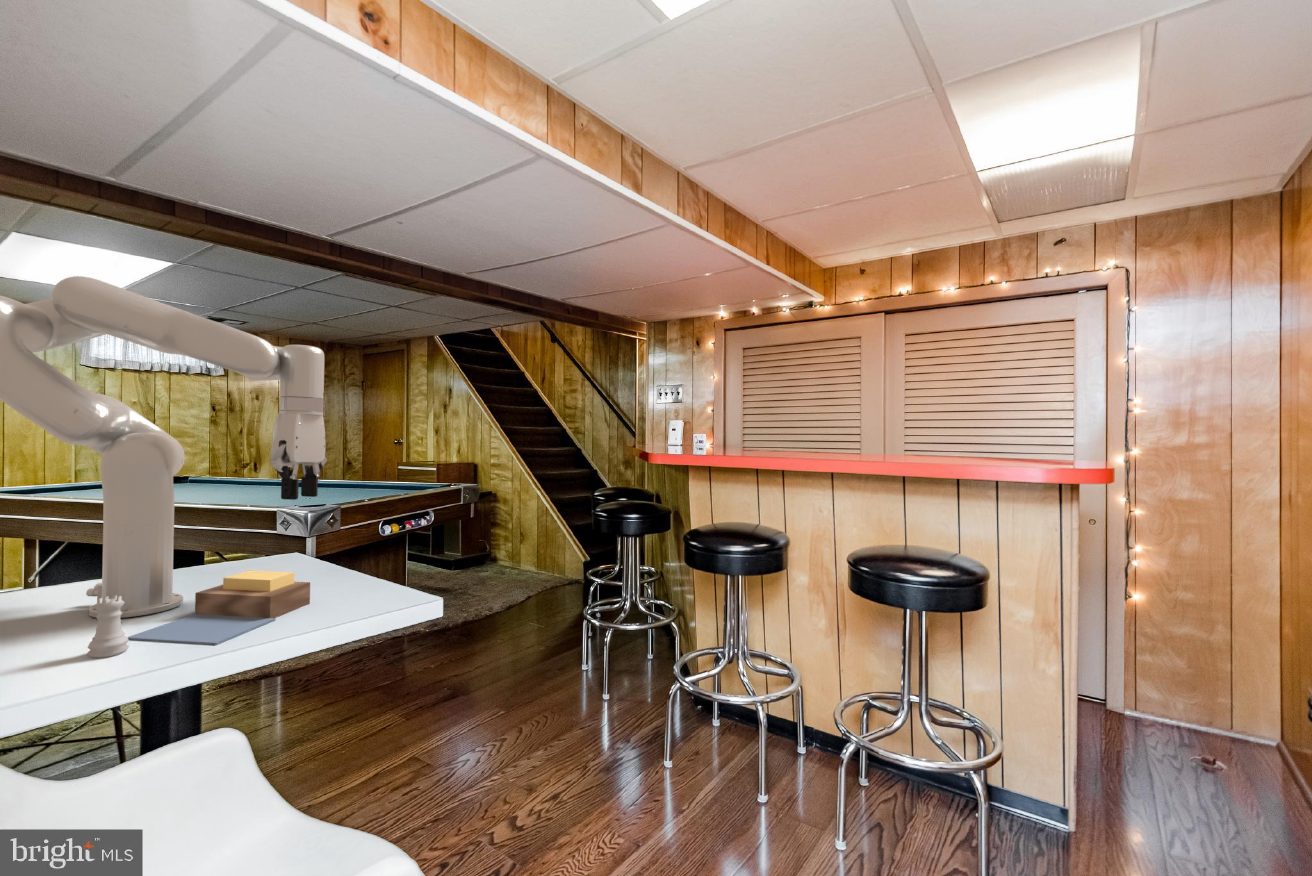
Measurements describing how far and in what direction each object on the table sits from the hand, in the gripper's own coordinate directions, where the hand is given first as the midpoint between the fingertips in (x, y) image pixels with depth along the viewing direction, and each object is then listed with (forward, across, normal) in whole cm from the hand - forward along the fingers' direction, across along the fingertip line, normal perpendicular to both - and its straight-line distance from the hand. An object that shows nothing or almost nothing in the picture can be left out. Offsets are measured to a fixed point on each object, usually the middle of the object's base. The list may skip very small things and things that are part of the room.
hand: (299, 496), depth 116 cm
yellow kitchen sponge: (+15, +10, 0) cm, 18 cm away
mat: (+19, +22, 0) cm, 29 cm away
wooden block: (+19, +11, 0) cm, 22 cm away
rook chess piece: (+20, +33, -4) cm, 39 cm away
